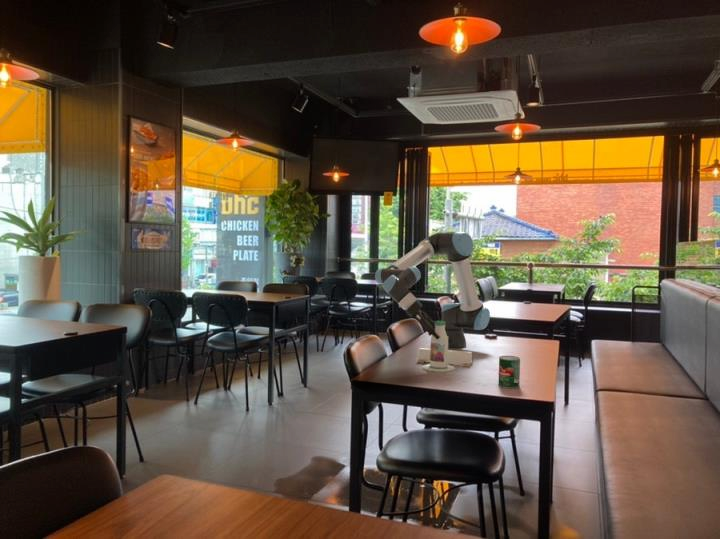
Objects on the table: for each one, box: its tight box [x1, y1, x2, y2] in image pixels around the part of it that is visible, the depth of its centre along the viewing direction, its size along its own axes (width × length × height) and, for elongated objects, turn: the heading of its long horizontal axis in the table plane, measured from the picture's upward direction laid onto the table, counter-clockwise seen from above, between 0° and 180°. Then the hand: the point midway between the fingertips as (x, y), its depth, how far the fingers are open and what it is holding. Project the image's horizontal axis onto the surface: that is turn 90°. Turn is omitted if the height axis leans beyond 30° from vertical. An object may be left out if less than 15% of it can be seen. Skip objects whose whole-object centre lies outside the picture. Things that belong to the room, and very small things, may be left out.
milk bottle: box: [429, 320, 449, 368], centre depth 249 cm, size 8×8×20 cm
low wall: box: [417, 347, 473, 368], centre depth 260 cm, size 24×6×6 cm, turn 69°
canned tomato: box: [498, 355, 521, 389], centre depth 219 cm, size 8×8×11 cm
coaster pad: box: [422, 363, 456, 373], centre depth 249 cm, size 14×14×1 cm
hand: (445, 341), depth 248 cm, fingers open, 11 cm apart
